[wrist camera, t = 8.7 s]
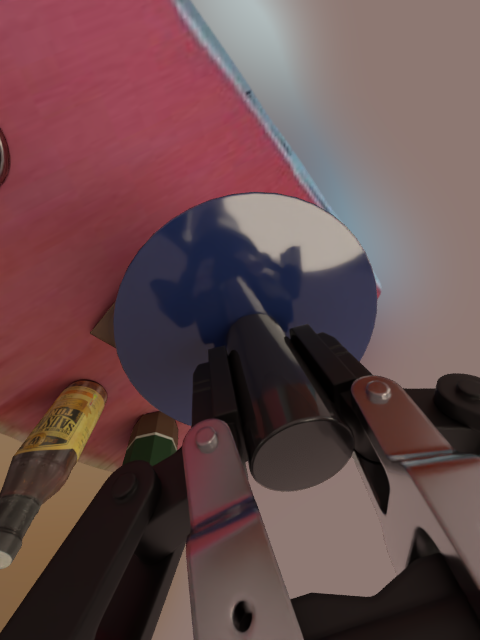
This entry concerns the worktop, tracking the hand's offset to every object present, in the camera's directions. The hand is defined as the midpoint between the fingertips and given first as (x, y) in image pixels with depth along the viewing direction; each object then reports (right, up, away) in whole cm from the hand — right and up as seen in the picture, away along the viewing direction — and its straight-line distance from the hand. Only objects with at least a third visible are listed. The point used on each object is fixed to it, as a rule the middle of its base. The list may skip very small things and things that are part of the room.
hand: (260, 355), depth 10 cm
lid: (0, +1, +2) cm, 2 cm away
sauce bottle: (-25, -10, +28) cm, 39 cm away
